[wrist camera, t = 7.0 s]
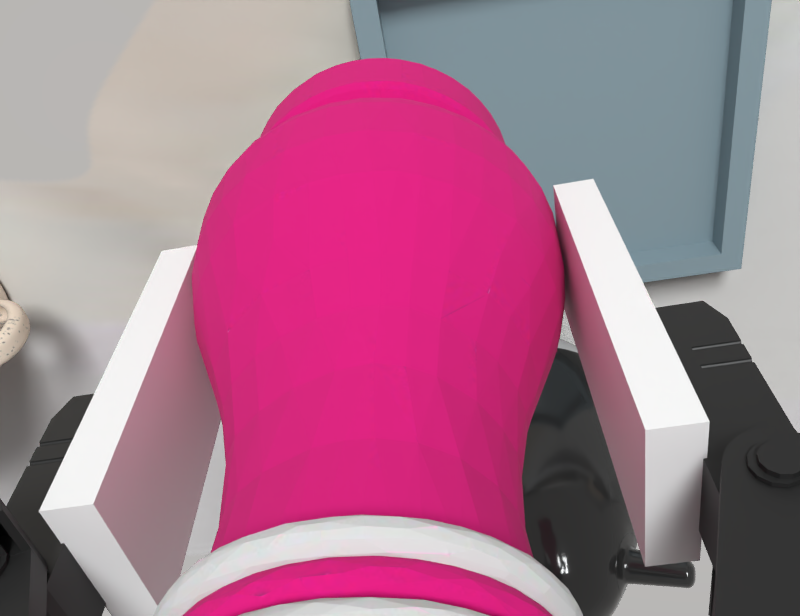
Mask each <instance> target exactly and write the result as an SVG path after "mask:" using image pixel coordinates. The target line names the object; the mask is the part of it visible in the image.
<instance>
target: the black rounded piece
mask: <svg viewBox="0 0 800 616" xmlns="http://www.w3.org/2000/svg"><path fill="white" fill-rule="evenodd" d="M522 485H523V500H524V514H525V529H526V533H527V536H528V540H529V544H530V547H531V551H532V554H533V558H534V559H535V560H537V561H538V562H539V563H540V564H542V565H543V566H544V567H545V568H547V569H548V570H549V571H550V572H552V573H553V574H554V575H555V576H556V577H557V578H558V579H559V580H560V581H561V582H562V583H563V584H564V585H565V586H566V587H567V588H568V589H569V591H570V593H571V594H572V596H573V597H574V599H575V600H576V602H577V604H578V606H579V608H580V610H581V612H582V614H583V616H611V615H612V614H613V613H614V611H615V609H616V608H617V606H618V604H619V602H620V600H621V598H622V596H623V594H624V591H625V589H626V587H627V584H643V585H656V586H670V587H683V588H690V587H692V586H693V585H694V582H695V568H694V565H693V564H692V562H682V563H673V564H665V565H656V566H647V567H645V565H644V562H643V559H642V555H641V552H640V550H637V549H636V546H637V539H636V536H635V533H634V530H633V527H632V523H631V520H630V517H629V514H628V511H627V507H626V504H625V501H624V498H623V495H622V491H621V488H620V485H619V482H618V479H617V475H616V472H615V469H614V466H613V463H612V459H611V456H610V453H609V450H608V447H607V443H606V440H605V437H604V434H603V431H602V427H601V424H600V421H599V418H598V415H597V411H596V408H595V405H594V402H593V399H592V395H591V392H590V389H589V386H588V383H587V379H586V376H585V373H584V370H583V367H582V363H581V360H580V357H579V354H578V351H577V347H576V346H575V345H573V344H571V343H569V342H567V341H564V340H562V339H559V344H558V348H557V352H556V355H555V358H554V361H553V364H552V366H551V369H550V372H549V374H548V377H547V380H546V382H545V385H544V388H543V390H542V393H541V395H540V398H539V401H538V403H537V406H536V409H535V411H534V414H533V417H532V419H531V422H530V426H529V429H528V432H527V440H526V448H525V456H524V464H523V472H522Z"/></svg>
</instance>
